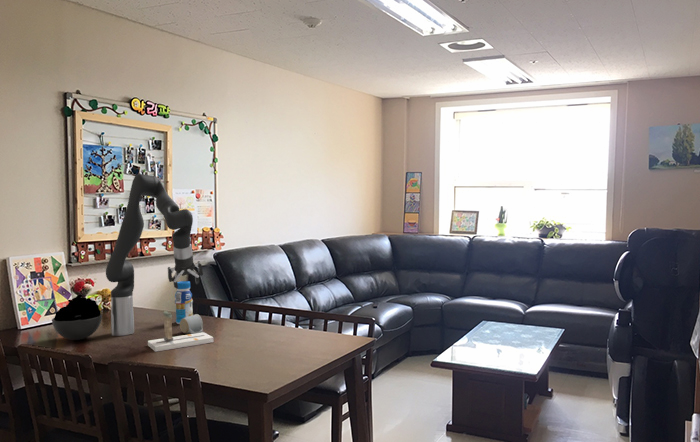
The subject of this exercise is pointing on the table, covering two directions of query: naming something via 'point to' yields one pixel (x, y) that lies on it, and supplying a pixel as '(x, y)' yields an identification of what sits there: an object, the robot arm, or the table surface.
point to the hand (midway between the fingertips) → (186, 285)
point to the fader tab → (168, 326)
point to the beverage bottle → (183, 301)
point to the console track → (180, 341)
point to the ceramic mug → (191, 324)
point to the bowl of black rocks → (77, 318)
